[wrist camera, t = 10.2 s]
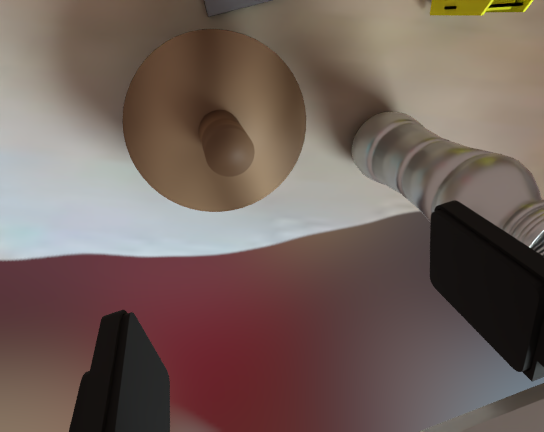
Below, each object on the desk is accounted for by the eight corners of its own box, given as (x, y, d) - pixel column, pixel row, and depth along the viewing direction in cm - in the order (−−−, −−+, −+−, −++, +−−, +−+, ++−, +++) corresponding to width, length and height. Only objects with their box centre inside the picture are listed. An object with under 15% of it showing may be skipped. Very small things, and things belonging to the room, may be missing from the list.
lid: (283, 7, 25) (314, 5, 20) (312, 178, 31) (342, 211, 26) (90, 57, 23) (68, 70, 18) (164, 225, 30) (163, 269, 25)
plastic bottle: (332, 137, 36) (484, 249, 19) (389, 91, 35) (602, 164, 18) (362, 182, 39) (514, 313, 22) (415, 142, 38) (615, 244, 21)
